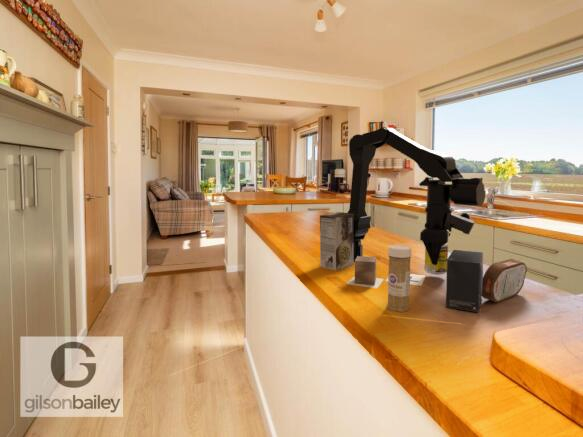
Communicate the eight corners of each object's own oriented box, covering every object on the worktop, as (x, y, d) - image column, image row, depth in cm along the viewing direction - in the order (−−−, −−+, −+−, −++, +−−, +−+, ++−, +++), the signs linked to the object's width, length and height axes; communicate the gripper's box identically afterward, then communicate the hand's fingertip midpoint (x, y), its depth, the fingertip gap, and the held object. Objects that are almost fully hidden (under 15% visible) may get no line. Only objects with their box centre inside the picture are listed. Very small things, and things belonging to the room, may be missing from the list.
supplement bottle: (438, 276, 87) (440, 237, 86) (420, 271, 92) (421, 234, 91) (451, 272, 91) (453, 235, 89) (432, 268, 95) (434, 232, 94)
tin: (511, 289, 82) (516, 255, 80) (526, 293, 79) (531, 258, 78) (477, 302, 74) (481, 264, 72) (492, 307, 71) (496, 268, 70)
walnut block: (354, 283, 88) (354, 260, 87) (357, 277, 92) (357, 256, 92) (374, 285, 86) (374, 262, 85) (376, 279, 91) (376, 257, 90)
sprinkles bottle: (383, 309, 72) (384, 246, 70) (392, 302, 75) (393, 242, 73) (404, 314, 69) (406, 249, 67) (413, 307, 72) (415, 245, 70)
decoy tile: (345, 284, 88) (345, 283, 88) (355, 275, 95) (355, 275, 95) (376, 288, 84) (376, 288, 84) (384, 279, 91) (384, 278, 91)
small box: (480, 313, 68) (481, 262, 67) (445, 308, 71) (445, 259, 70) (483, 296, 77) (484, 251, 76) (452, 292, 80) (452, 249, 79)
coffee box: (337, 261, 110) (337, 211, 108) (354, 264, 105) (354, 213, 103) (319, 267, 104) (318, 214, 101) (336, 271, 99) (336, 216, 97)
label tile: (385, 281, 89) (385, 280, 89) (392, 272, 97) (392, 271, 97) (421, 286, 85) (421, 285, 85) (425, 276, 93) (425, 275, 93)
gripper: (473, 208, 77) (469, 275, 79) (473, 201, 93) (470, 256, 95) (421, 207, 82) (418, 269, 84) (429, 200, 98) (427, 252, 100)
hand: (435, 261), depth 91 cm, fingers closed on supplement bottle, 5 cm apart
